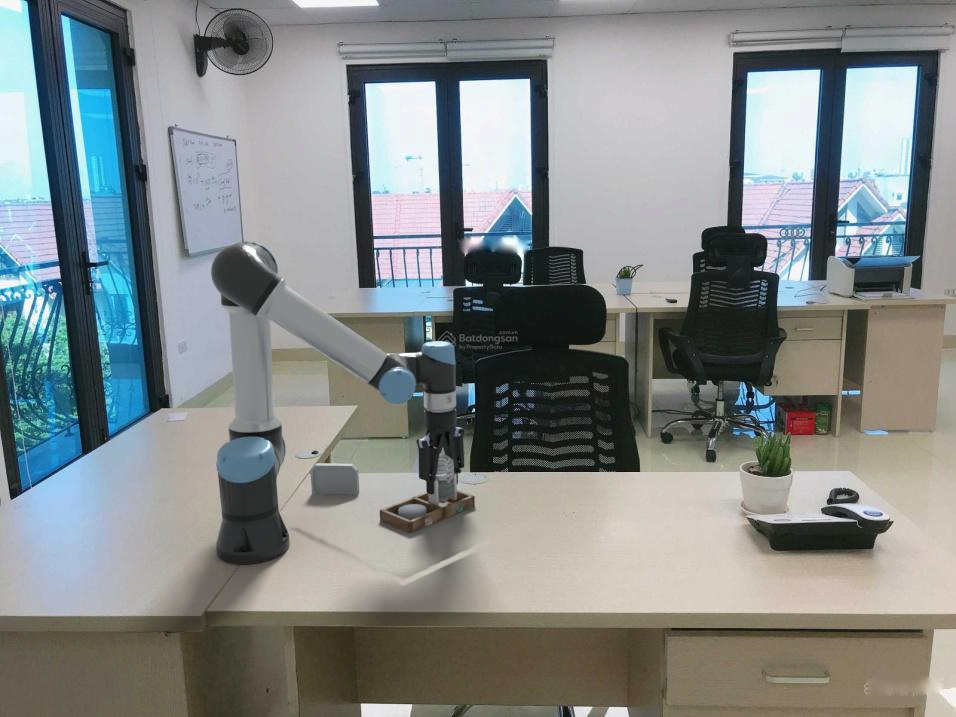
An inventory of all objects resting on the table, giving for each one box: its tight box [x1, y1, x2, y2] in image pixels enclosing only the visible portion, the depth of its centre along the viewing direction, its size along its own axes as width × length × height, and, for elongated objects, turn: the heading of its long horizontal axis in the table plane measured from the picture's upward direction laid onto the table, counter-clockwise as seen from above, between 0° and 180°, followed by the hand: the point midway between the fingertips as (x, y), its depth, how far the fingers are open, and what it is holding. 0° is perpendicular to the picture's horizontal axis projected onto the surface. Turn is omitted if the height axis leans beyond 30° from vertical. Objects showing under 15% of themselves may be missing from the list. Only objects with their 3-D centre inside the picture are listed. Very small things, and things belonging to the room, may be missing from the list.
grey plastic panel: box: [309, 462, 360, 496], centre depth 196 cm, size 2×12×8 cm, turn 84°
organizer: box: [379, 489, 476, 534], centre depth 181 cm, size 20×11×4 cm, turn 136°
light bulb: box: [435, 454, 454, 503], centre depth 183 cm, size 6×6×12 cm
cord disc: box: [398, 504, 426, 520], centre depth 178 cm, size 6×6×2 cm
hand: (442, 501), depth 184 cm, fingers closed on light bulb, 5 cm apart
